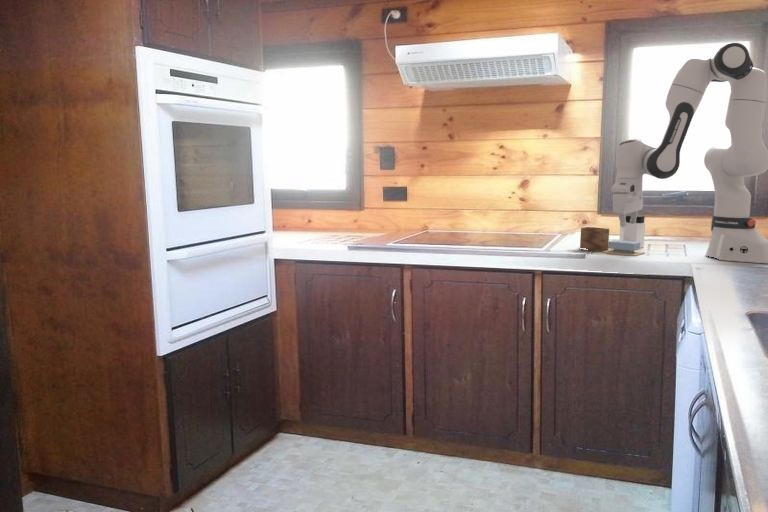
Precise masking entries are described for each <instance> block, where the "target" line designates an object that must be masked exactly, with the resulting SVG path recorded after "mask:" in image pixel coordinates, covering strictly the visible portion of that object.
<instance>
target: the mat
mask: <svg viewBox="0 0 768 512" xmlns="http://www.w3.org/2000/svg"><path fill="white" fill-rule="evenodd" d="M601 253H602V254H610V255H611V254H612V255H619V256H620V255H622V256H630V257H631V256H632V257H638V256H641V255H644V254H645V253H646V252H644V251H637V250H635V251H634V253H623V252H614V249H611V248H609V250H607V251H603V252H601Z"/></svg>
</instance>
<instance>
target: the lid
mask: <svg viewBox="0 0 768 512" xmlns="http://www.w3.org/2000/svg"><path fill="white" fill-rule="evenodd" d="M608 249H614V252H623V253H634V251H637V250H641V248H640V242H631V241H620V239H614V240H609V244H608Z"/></svg>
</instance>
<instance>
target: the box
mask: <svg viewBox="0 0 768 512" xmlns="http://www.w3.org/2000/svg"><path fill="white" fill-rule="evenodd" d="M609 241H610V228H606V227H605V228H604V227H592V226H585V227H581V228H580V240H579V243H580V244H579V249H580V248H586V249H588V250H589V252H590V251H591V252H598V253H599V252H600V253H602V252H603V251H607V250H610V248H608V245H609ZM588 250H587V251H588Z"/></svg>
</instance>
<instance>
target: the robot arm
mask: <svg viewBox="0 0 768 512" xmlns="http://www.w3.org/2000/svg"><path fill="white" fill-rule="evenodd" d="M711 82H713V83H724V82H728V83H729V86H730V95H729V100H728V105H727V110H726V115H725V121H724V123H725V127H726V128H727V129H728V131H729V133H730V140H731V141H730V143H720V144H717V145H714V146H712V147H710V148H709V149H708V150H706V153H704V158H703V161H704V162H703V163H704V166H705V168H706V170H708V172H709V173H710V175H711V179H712V183H713V187H714V188H713V190H714V208H713V215H712V216H711V217H712V218H711V221H710V222H711V223H710V231H711V235H710V238H709V244H708V247H707V249H706V253H705V257H708V256H709V257H708V258H711V257H714V258H713V259H715V258H717V259H716V260H718V259H719V260H718V261H729V262H741V263H742V262H743V263H755V264H757V263H758V264H768V239H767V238H766V237H765V236H764V235H762V233H760V232H759V231H758V230H756V229H755V228H756V223H757V220H756V219H753V218H752V217H750V215H751V203H752V194H751V192H750V191H749V190H748V188H747V187H746V185H745V181H744V177H747V178H748V177H755V176H758V175H761V174H764V173H765V172H767V170H768V148H767V147H766V145H765V142H764V138H763V131H762V128H763V126H762V125H763V120H764V113H765V107H766V101H767V93H768V76H767V74H766V72H765V71H764V70H762V69H760V68H756V67H754V62H753V60H752V58H751V55H750V52H749V50H748V48H747V47H746V46H745V45H744V44H742V43H740V42H735V41H734V42H728V43H724V44H723V45H721V46H720V47H719V48H717V49H716V50H715V51H713V53H712V54H711V55H710V56H709V57H708V58H703V57H702V58H701V57H690V58H687V59H686V60H685V61H684V62H683V64H682V65H681V66H680V68H679V70H678V71H677V73H676V75H675V77H674V79H673V81H672V83H671V85H670V87H669V89H668V93H667V95H666V100H665V108H666V109H667V111H668V114H669V122H668V125H667V129H665V132H664V135H663V138H662V141H661V142H660V145H659V146H658V147H656V146H653V145H651V144H648V143H646V142H644V141H642V140H641V139H640V138H634V139H628V140H625V141H622V142H620V143H619V145H618V146H617V149H616V162H615V163H616V165H615V167H616V170H617V171H616V175H615V182H614V183H613V185H612V186H611V189H610V191H611V193H612V213H613V214H614V215H618V219H619V226H621V227H625V226H627V221H626V218H625V217H626V214H631V219H630V224H635V223H636V218H637V215H639V211H642V210H643V207H644V197H643V195H644V193H643V176H644V175H649V176H650V177H651V176H652V177H654V178H656V179H660V180H661V179H662V180H665V179H668V178H669V179H670V178H671V177H672V176H674V175H675V174H676V173H677V171H679V167H680V162H681V160H680V159H681V158H680V157H681V156H680V155H681V149H682V146H683V143H684V140H685V138H686V136H687V133H688V131H689V128H690V126H691V123H692V119H693V118H694V115H695V113H696V111H697V110H698V107H699V105H700V104H701V101H702V99H703V97H704V96H705V92H706V90H707V89H708V86H709V85H710V83H711Z"/></svg>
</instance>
